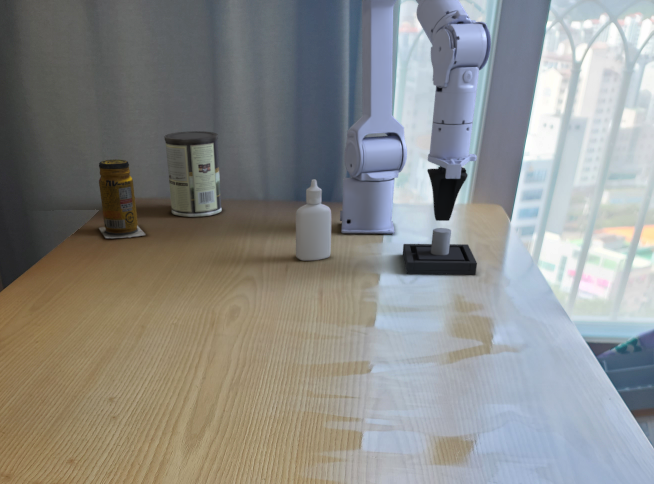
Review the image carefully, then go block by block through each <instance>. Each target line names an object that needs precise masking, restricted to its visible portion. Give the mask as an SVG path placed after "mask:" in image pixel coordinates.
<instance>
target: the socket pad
mask: <svg viewBox="0 0 654 484" xmlns="http://www.w3.org/2000/svg"><path fill="white" fill-rule="evenodd" d="M431 245H432V243H403V245H402V258H403V263H404V269H405V274H406V275H459V276H460V275H462V276H463V275H465V276H466V275H467V276H470V275H471V276H476V273H477V267H478V262H477V260H476V258H475V256H474V253H473V252H472V250H471V248H470V246H469V244H465V243H462V244H461V243H457V244H455V243H452V244H451V243H450V246H449V247H459V248H460V250H461V252H462V255H463V257H464V259H465V261H417V259H416V255H415V251H416V247H431Z"/></svg>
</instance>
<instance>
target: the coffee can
mask: <svg viewBox="0 0 654 484" xmlns="http://www.w3.org/2000/svg"><path fill="white" fill-rule="evenodd" d="M163 137H164V138H163V139H164V141H165V150H166V151H165V152H166V162H167V173H168V183H169V194H170V204H171V214H172V215H175V216H177V217H183V218H203V217H208V216H209V217H210V216H214V215H217V214H219V213H222V210H223V208H222V195H221V181H220V180H221V179H220V178H221V177H220V162H219V161H220V159H219V143H218V142H219V141H218V139H219V134H218V133H217V132H212V131H204V130H203V131H199V130H194V131H193V130H192V131H191V130H190V131H177V132H171V133H168V134H167V133H166V134H165V135H164V136H163Z"/></svg>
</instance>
